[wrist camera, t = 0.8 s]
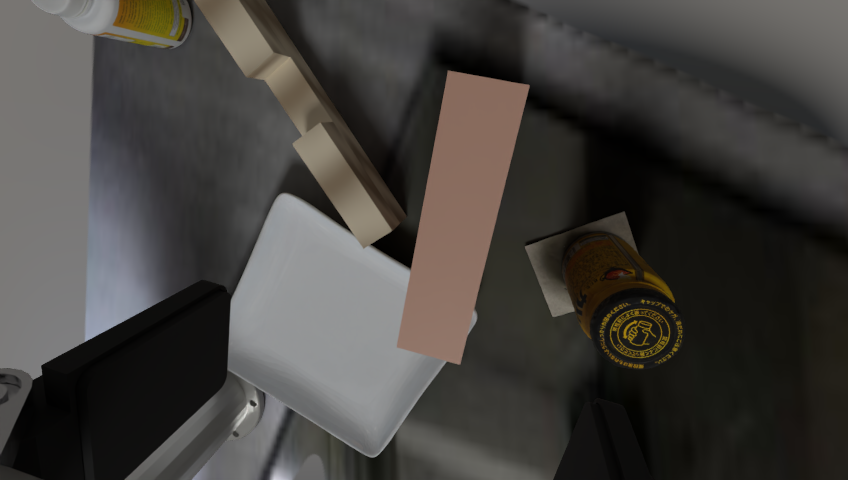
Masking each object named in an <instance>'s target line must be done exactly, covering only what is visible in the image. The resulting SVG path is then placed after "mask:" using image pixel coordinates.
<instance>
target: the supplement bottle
mask: <svg viewBox="0 0 848 480" xmlns="http://www.w3.org/2000/svg"><path fill="white" fill-rule="evenodd" d="M31 1H32V2H33V3H34V4H35V5H36V6H37V7H38V8H40V9H41V10H43V11H45V12H47V13H50V14H54V15H58V16H60V17H61V18H62V19H63V20H64V21H65V22H66V23H67V24H68V25H69V26H71V27H72V28H74V29H75V30H78V31H80V32H82V33H86V34H90V35H96V36H100V37H106V38H111V39H116V40H121V41H126V42H131V43H136V44H141V45H146V46H151V47H157V48H163V49H172V48H176V47H178V46H180V45H181V44H182V43H183V42H184V41H185V40H186V39H187V37H188V35H189V33H190V30H191V23H192V17H191V11H190V7H189V4H188V2H187V0H31Z"/></svg>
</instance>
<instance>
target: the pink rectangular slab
mask: <svg viewBox="0 0 848 480" xmlns="http://www.w3.org/2000/svg"><path fill="white" fill-rule="evenodd" d="M529 86H530V85H525V84H520V83H514V82H508V81H503V80H497V79H492V78H486V77H481V76H475V75H470V74H464V73H459V72H453V71H448V74H447V80H446V85H445V90H444V96H443V101H442V106H441V112H440V117H439V122H438V128H437V133H436V138H435V144H434V149H433V155H432V160H431V165H430V171H429V176H428V181H427V187H426V192H425V197H424V203H423V208H422V213H421V219H420V224H419V229H418V235H417V240H416V246H415V251H414V256H413V262H412V267H411V272H410V278H409V283H408V288H407V294H406V299H405V304H404V310H403V315H402V321H401V326H400V331H399V337H398V342H397V348H401V349H405V350H408V351H412V352H416V353H419V354H423V355H426V356H430V357H434V358H437V359H441V360H445V361H448V362H452V363H455V364H459V365H460V363H461V359H462V355H463V351H464V347H465V343H466V339H467V335H468V331H469V327H470V323H471V319H472V315H473V311H474V307H475V303H476V299H477V295H478V291H479V287H480V283H481V278H482V274H483V270H484V266H485V262H486V258H487V254H488V250H489V246H490V242H491V238H492V234H493V230H494V226H495V222H496V218H497V214H498V210H499V206H500V202H501V198H502V194H503V190H504V186H505V182H506V178H507V174H508V170H509V166H510V162H511V158H512V154H513V150H514V146H515V142H516V138H517V134H518V130H519V126H520V122H521V118H522V114H523V110H524V106H525V102H526V98H527V94H528V90H529Z"/></svg>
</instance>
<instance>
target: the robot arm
mask: <svg viewBox="0 0 848 480" xmlns="http://www.w3.org/2000/svg"><path fill="white" fill-rule="evenodd" d="M230 307H231V296H230V294H229V293H227V290H226V287H224V286H222V285H219V284H216V283H212V282H209V281H206V280H201V281H199V282H197V283H195V284H193V285H191V286H189V287H187V288H186V289H184V290H182V291H180V292H178V293H176V294H174V295H172V296H171V297H169V298H167V299H165V300H163V301H161V302H159V303H157V304H156V305H154V306H152V307H150V308H148V309H146V310H144V311H142V312H141V313H139V314H137V315H135V316H133V317H131V318H129V319H127V320H126V321H124V322H122V323H120V324H118V325H116V326H114V327H112V328H111V329H109V330H107V331H105V332H103V333H101V334H99V335H97V336H96V337H94V338H92V339H90V340H88V341H86V342H84V343H82V344H81V345H79V346H77V347H75V348H73V349H71V350H69V351H67V352H66V353H64V354H62V355H60V356H58V357H56V358H54V359H53V360H51V361H49V362H47V363H45V364H43V365H42V366H41V368H42V376H40V377H38V378H36V379H34V380H33V379H32V378H31V376H30V375H29V374H28V373H26V372H24V371H22V370H16V369H10V368H3V369H0V480H192V479H193V477H194V476H195V475H196V474H197V473H198V472H199V471H200V469H201V468H202V467H203V466H204V465H205V464H206V463H207V461H208V460H209V459H210V458H211V457H212V456H213V455H214V453H215V452H216V451H217V450H218V449H219V448H220V447H221V445H222V444H223V443H224V442H225V441H233V440H238V439H240V438H243V437H245V436H246V435H248V434H249V433H250V432H252V430H253V429H254V428H255V427H256V426H257V424H258V423H259V421H260V419H261V418H262V415H263V411H264V397H263V392H262V391H261V390H260V389H258V388H257V387H255V386H253V385H252V384H250V383H249V382H247V381H245V380H244V379H242V378H240V377H239V376H237V375H235V374H234V373H232V372H230V371H229V370H227V368H228V347H229V327H230ZM553 480H655V479H654V478H653V477H651V476H650V473H649V471H648V468H647V465H646V463H645V460H644V458H643V455H642V452H641V450H640V447H639V444H638V442H637V439H636V436H635V434H634V431H633V429H632V426H631V423H630V421H629V418H628V415H627V413H626V410H625V408H624V406H622V405H619V404H616V403H613V402H609V401H606V400H603V399H599V398H597V399H595V400H594V402H593V403H591V402H586V403H585V405H584V407H583V409H582V412H581V414H580V417H579V419H578V421H577V424H576V426H575V429H574V431H573V433H572V436H571V438H570V441H569V443H568V445H567V448H566V450H565V453H564V455H563V457H562V460H561V462H560V465H559V467H558V469H557V472H556V474H555V477H554V479H553Z"/></svg>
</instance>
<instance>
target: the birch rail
mask: <svg viewBox="0 0 848 480" xmlns="http://www.w3.org/2000/svg"><path fill="white" fill-rule="evenodd" d="M194 1H195V2H196V4H197V5H198V7H199V8H200V10H201V11H202V13H203V14H204V16H205V17H206V19H207V20H208V22H209V23H210V24H211V26H212V27H213V29H214V30H215V32H216V33H217V35H218V36H219V38H220V39H221V41H222V42H223V44H224V45H225V46H226V48H227V49H228V51H229V52H230V54H231V55H232V57H233V58H234V60H235V61H236V63H237V64H238V66H239V67H240V68H241V70H242V71H243V73H244V74H245V76H246V77H249V78H256V79H262V80H265V81H266V83H267V84H268V86H269V87H270V89H271V90H272V92H273V93H274V95H275V96H276V97H277V99H278V100H279V102H280V103H281V105H282V106H283V108H284V109H285V111H286V112H287V114H288V115H289V117H290V118H291V120H292V121H293V123H294V124H295V126H296V127H297V129H298V130H299V132H300V133H301V134H302V137H301V138H299V139H298V140H297V141H296V142H294V143H293V144H292V145H293V146H294V148H295V149H296V151H297V152H298V153H299V155H300V156H301V158H302V159H303V161H304V162H305V164H306V165H307V167H308V168H309V170H310V171H311V173H312V174H313V175H314V177H315V178H316V180H317V181H318V183H319V184H320V186H321V187H322V189H323V190H324V192H325V193H326V195H327V196H328V197H329V199H330V200H331V202H332V203H333V205H334V206H335V208H336V209H337V211H338V212H339V214H340V215H341V217H342V218H343V219H344V221H345V222H346V224H347V225H348V227H349V228H350V230H351V231H352V233H353V234H354V236H355V237H356V239H357V240H358V241H359V243H360V244H361V246H362V247H363V249H364V248H366V247H367V246H369V245H370V244H372V243H374V242H375V241H377V240H378V239H380V238H382V237H383V236H385V235H387V234H388V233H390V232H391V231H393V230H394V229H395V228H396V227H397V226H398V225H399V224H400V223H401V222H402V221H403V220H404V219H405V218H406V217H407V216H406V214H405V213H404V211H403V210H402V208H401V207H400V205H399V204H398V202H397V201H396V199H395V198H394V196H393V195H392V193H391V192H390V190H389V188H388V187H387V185H386V184H385V182H384V181H383V179H382V178H381V176H380V175H379V173H378V172H377V170H376V169H375V167H374V166H373V164H372V163H371V161H370V160H369V158H368V156H367V155H366V153H365V152H364V150H363V149H362V147H361V146H360V144H359V143H358V141H357V140H356V138H355V137H354V135H353V134H352V132H351V131H350V129H349V127H348V126H347V124H346V123H345V121H344V120H343V118H342V117H341V115H340V114H339V112H338V111H337V109H336V108H335V106H334V105H333V103H332V102H331V100H330V99H329V97H328V95H327V94H326V92H325V91H324V89H323V88H322V86H321V85H320V83H319V82H318V80H317V79H316V77H315V76H314V74H313V73H312V71H311V70H310V68H309V67H308V65H307V63H306V62H305V60H304V59H303V57H302V56H301V54H300V53H299V51H298V50H297V48H296V47H295V45H294V44H293V42H292V41H291V39H290V38H289V36H288V35H287V33H286V31H285V30H284V28H283V27H282V25H281V24H280V22H279V21H278V19H277V18H276V16H275V15H274V13H273V12H272V10H271V9H270V7H269V6H268V4H267V2H266V1H265V0H194Z"/></svg>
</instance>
